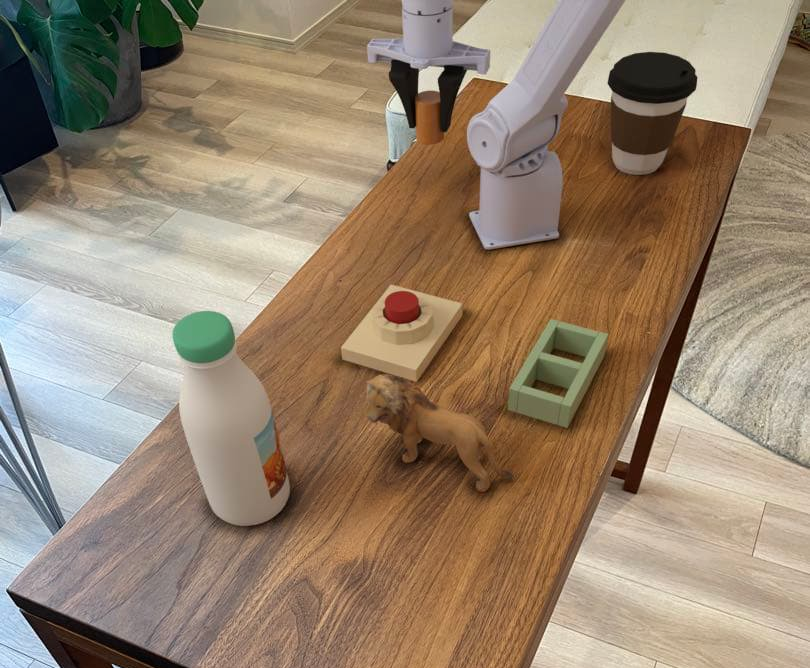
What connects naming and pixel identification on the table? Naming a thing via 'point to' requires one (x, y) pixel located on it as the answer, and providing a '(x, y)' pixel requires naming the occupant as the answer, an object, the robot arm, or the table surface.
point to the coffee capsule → (428, 117)
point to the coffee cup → (647, 108)
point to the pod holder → (557, 372)
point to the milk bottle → (228, 423)
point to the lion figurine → (429, 424)
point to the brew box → (402, 336)
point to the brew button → (401, 307)
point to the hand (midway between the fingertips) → (429, 126)
